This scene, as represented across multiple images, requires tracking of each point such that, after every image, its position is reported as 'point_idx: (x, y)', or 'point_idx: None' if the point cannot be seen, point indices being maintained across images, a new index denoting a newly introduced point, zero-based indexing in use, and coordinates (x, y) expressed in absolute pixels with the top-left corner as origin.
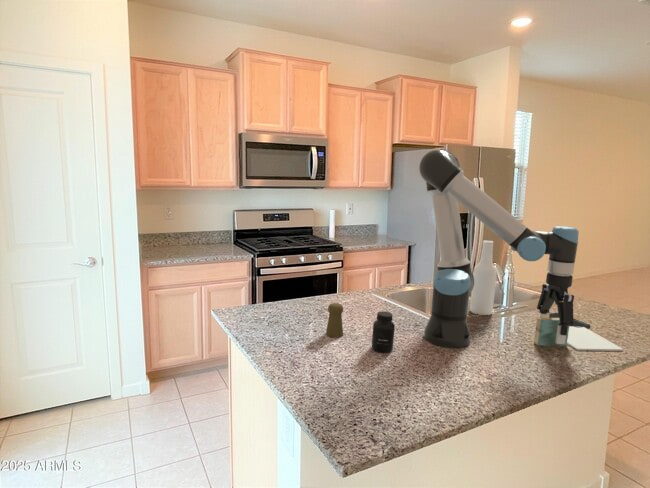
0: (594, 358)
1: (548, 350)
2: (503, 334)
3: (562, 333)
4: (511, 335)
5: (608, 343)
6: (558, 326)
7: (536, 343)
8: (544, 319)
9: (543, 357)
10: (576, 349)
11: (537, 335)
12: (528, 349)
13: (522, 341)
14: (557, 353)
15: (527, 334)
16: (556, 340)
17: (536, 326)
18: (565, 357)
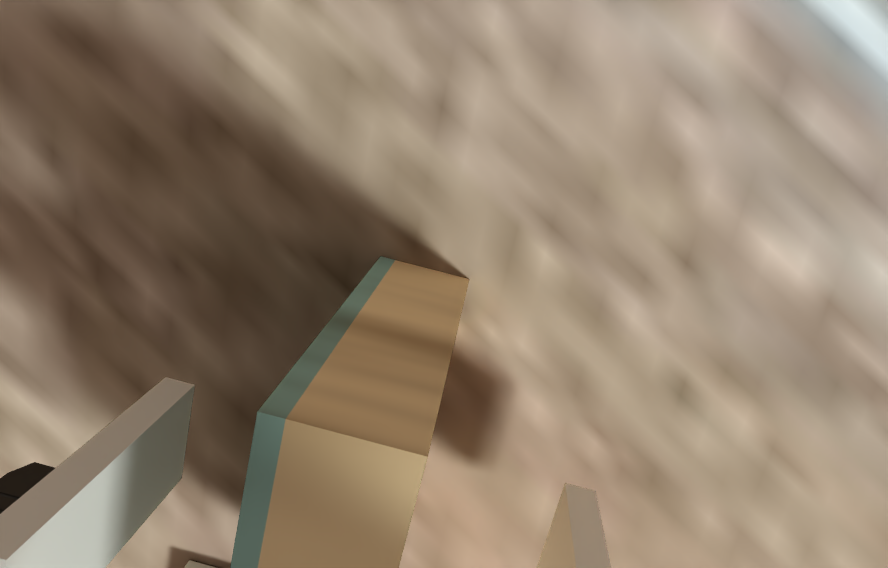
0: None
1: (225, 263)
2: (833, 40)
3: (4, 479)
4: (757, 142)
5: None
6: (14, 528)
7: (413, 267)
8: (281, 511)
9: (51, 33)
10: (188, 566)
11: (395, 300)
12: (286, 19)
13: (530, 142)
14: (141, 300)
15: (710, 395)
16: (163, 399)
17: (440, 364)
18: (41, 302)
